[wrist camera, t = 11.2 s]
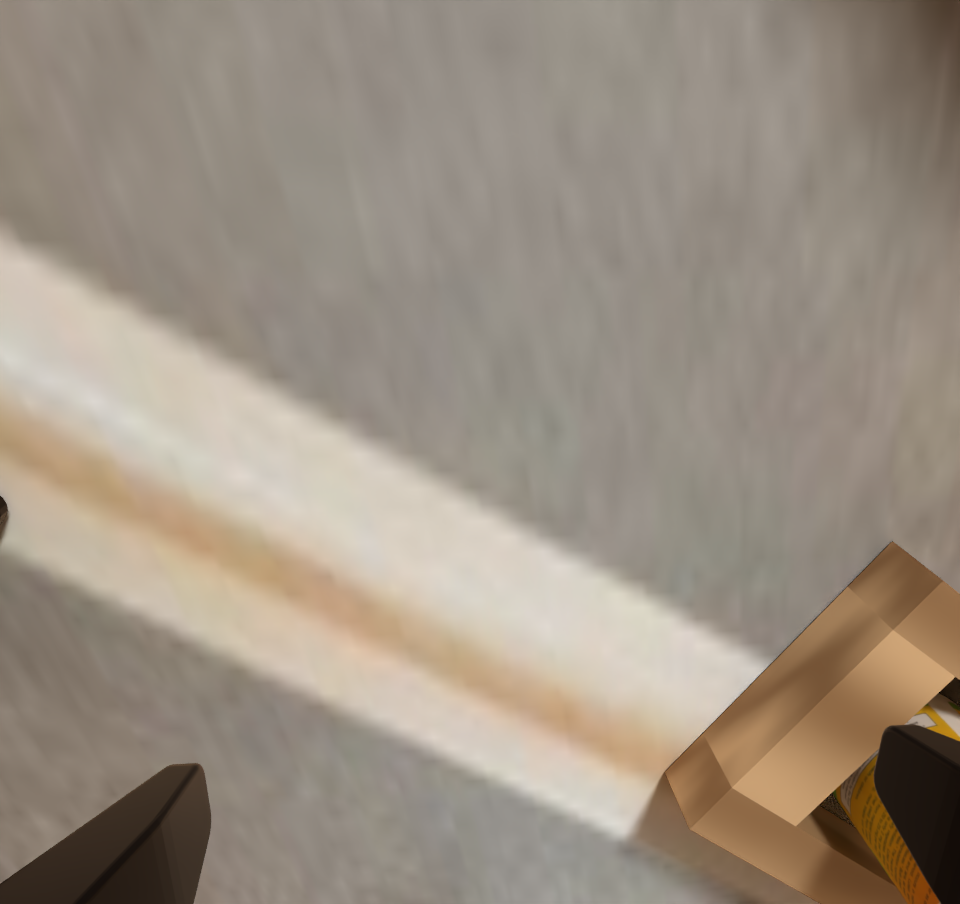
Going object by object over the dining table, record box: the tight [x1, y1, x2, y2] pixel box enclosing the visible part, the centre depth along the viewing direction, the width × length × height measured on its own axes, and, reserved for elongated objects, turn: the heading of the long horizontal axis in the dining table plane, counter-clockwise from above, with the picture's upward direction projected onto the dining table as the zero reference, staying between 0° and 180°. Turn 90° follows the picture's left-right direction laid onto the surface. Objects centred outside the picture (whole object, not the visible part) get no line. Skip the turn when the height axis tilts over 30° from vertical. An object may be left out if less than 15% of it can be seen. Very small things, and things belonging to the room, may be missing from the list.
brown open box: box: [665, 541, 960, 904], centre depth 27 cm, size 11×13×2 cm
